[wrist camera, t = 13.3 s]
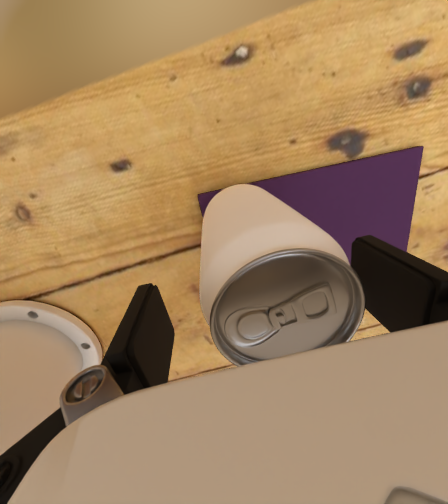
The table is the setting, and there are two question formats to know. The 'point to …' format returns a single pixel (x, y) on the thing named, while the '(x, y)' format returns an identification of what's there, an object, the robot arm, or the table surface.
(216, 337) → the can
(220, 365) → the table surface
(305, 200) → the placemat
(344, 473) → the robot arm
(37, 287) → the table surface
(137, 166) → the table surface
